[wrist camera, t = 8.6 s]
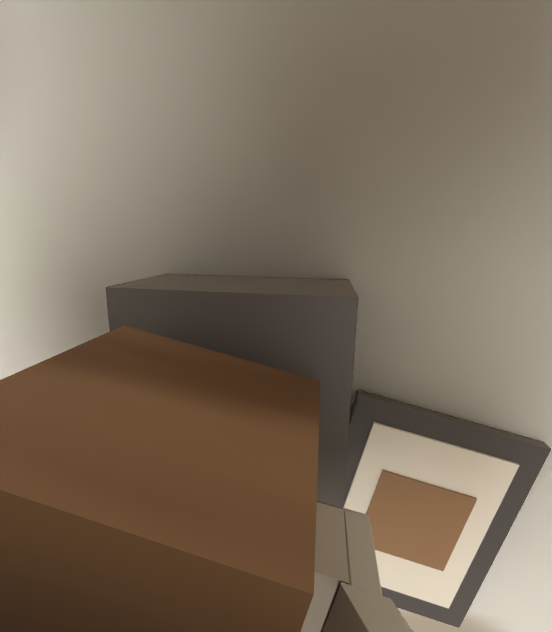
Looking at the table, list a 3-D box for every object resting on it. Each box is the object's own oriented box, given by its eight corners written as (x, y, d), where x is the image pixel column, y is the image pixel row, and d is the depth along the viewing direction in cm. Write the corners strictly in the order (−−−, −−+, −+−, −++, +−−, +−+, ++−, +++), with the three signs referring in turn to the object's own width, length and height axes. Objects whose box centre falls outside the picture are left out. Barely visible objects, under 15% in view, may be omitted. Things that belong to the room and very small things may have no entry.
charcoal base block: (168, 273, 14) (105, 287, 10) (348, 279, 13) (358, 297, 9) (177, 431, 15) (126, 498, 11) (337, 447, 14) (341, 525, 10)
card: (358, 389, 13) (360, 397, 13) (544, 442, 13) (554, 452, 12) (300, 566, 15) (299, 579, 15) (455, 617, 15) (460, 632, 14)
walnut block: (124, 325, 8) (-142, 442, 4) (320, 381, 8) (313, 593, 3) (102, 489, 10) (-117, 737, 5) (271, 543, 9) (214, 871, 5)
